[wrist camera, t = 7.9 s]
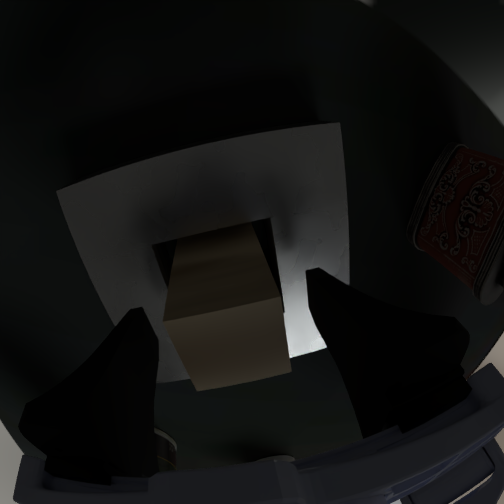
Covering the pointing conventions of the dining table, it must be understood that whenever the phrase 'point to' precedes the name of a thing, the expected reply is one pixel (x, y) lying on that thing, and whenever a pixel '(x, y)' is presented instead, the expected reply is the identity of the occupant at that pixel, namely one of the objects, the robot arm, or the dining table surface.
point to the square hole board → (215, 219)
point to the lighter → (464, 219)
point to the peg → (225, 309)
